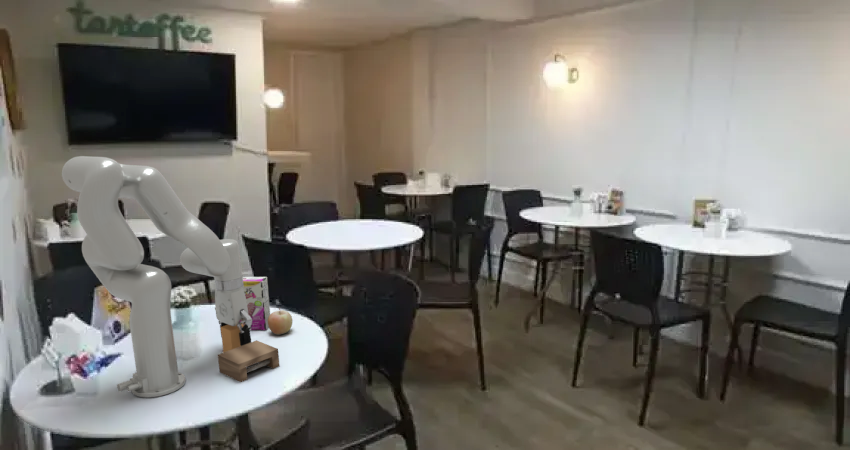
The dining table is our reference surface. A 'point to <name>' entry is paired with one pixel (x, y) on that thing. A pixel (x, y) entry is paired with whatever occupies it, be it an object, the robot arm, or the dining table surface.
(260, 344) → the shelf
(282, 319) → the fruit
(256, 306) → the candy bar box
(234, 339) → the upright orange cuboid
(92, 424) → the dining table surface
